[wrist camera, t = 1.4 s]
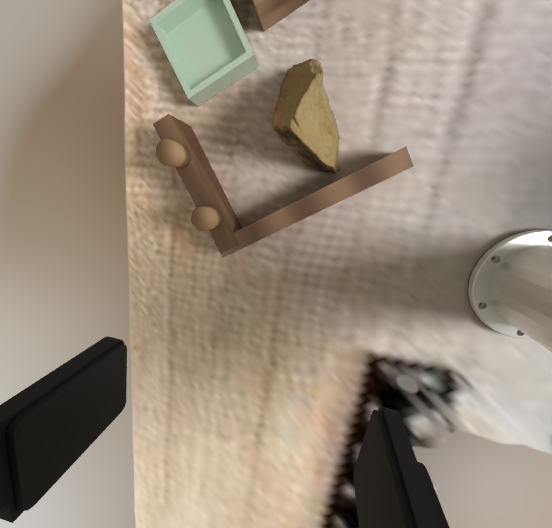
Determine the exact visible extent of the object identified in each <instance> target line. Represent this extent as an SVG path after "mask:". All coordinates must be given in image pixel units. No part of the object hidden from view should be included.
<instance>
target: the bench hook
mask: <svg viewBox="0 0 552 528" xmlns="http://www.w3.org/2000/svg"><path fill="white" fill-rule="evenodd" d="M153 125H154V127H155V129H156V131H157V133H158V135H159V136H160V138H161V141H160V142H159V143H158V145H157V147H156V155H157V158H158V160H159V161H160V162H161V163H162V164H164V165H166V166H171V167H176V169H177V171H178V172H179V174H180V176H181V178H182V180H183V182H184V184H185V186H186V188H187V190H188V191H189V193H190V195H191V197H192V199H193V201H194V203H195V205H196V207H197V208H196V209H195V210H194V211H193V213H192V216H191V220H192V223H193V225H194V226H195V228H197V229H198V230H200V231H207V230H209V231H210V233H211V235H212V237H213V239H214V241H215V244H216V246H217V248H218V249H219V251H220V253H221V255H222V257H225V256H227V255H229V254H231V253H233V252H235V251H237V250H240V249H242V248H244V247H246V246H248V245H250V244H252V243H254V242H256V241H258V240H260V239H262V238H265V237H267V236H269V235H271V234H273V233H275V232H277V231H279V230H281V229H283V228H285V227H288V226H290V225H292V224H294V223H296V222H298V221H300V220H302V219H304V218H306V217H308V216H311V215H313V214H315V213H317V212H319V211H321V210H323V209H325V208H327V207H329V206H331V205H333V204H336V203H338V202H340V201H342V200H344V199H346V198H348V197H350V196H352V195H354V194H356V193H359V192H361V191H363V190H365V189H367V188H369V187H371V186H373V185H375V184H377V183H379V182H381V181H384V180H386V179H388V178H390V177H392V176H394V175H396V174H398V173H400V172H402V171H404V170H407V169H409V168H411V167H413V163H412V161H411V158H410V156H409V153H408V150H407V148H406V147H404V148H402V149H400V150H398V151H396V152H394V153H392V154H390V155H388V156H386V157H384V158H382V159H380V160H378V161H376V162H374V163H372V164H370V165H368V166H366V167H364V168H362V169H360V170H358V171H356V172H354V173H352V174H350V175H348V176H346V177H344V178H342V179H340V180H338V181H336V182H334V183H332V184H330V185H328V186H326V187H324V188H322V189H320V190H318V191H316V192H314V193H312V194H310V195H308V196H306V197H304V198H302V199H300V200H298V201H296V202H294V203H292V204H290V205H288V206H286V207H284V208H282V209H280V210H278V211H276V212H274V213H272V214H270V215H268V216H266V217H264V218H262V219H260V220H258V221H256V222H254V223H252V224H250V225H248V226H246V227H244V228H242V227H241V225H240V223H239V221H238V219H237V217H236V215H235V213H234V211H233V209H232V207H231V205H230V203H229V201H228V199H227V197H226V195H225V193H224V191H223V189H222V187H221V185H220V183H219V181H218V179H217V177H216V175H215V173H214V171H213V169H212V167H211V165H210V163H209V161H208V159H207V157H206V155H205V153H204V152H203V150H202V148H201V146H200V144H199V142H198V140H197V138H196V136H195V134H194V132H193V130H192V128H191V126H189V125H187V124H186V123H184V122H182V121H180V120H178V119H177V118H175V117H173V116H171V115H169V114H168V115H166V116H165V117H163V118H162V119H160V120H159V121H157V122H156V123H154V124H153Z"/></svg>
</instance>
